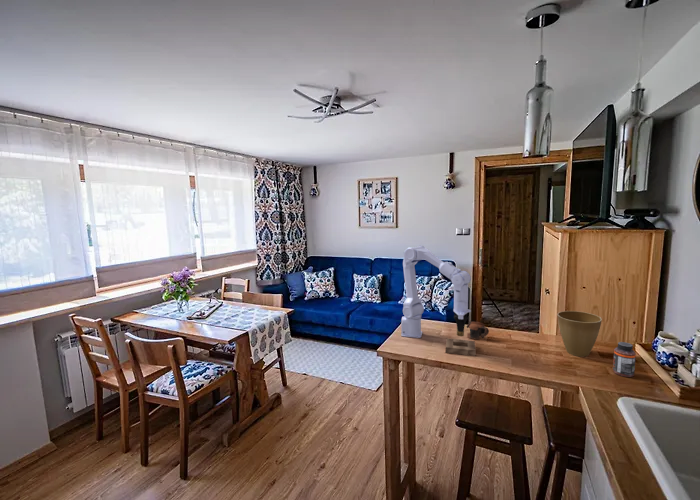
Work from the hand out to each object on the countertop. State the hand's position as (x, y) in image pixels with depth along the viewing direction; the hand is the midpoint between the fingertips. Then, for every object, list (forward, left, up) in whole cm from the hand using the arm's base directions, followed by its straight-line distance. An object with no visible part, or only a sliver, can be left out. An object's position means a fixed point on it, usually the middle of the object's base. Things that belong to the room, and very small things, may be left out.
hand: (460, 330), depth 139 cm
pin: (0, 0, -2) cm, 2 cm away
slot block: (0, 0, -9) cm, 9 cm away
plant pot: (+46, +9, -9) cm, 48 cm away
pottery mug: (+8, +17, -9) cm, 21 cm away
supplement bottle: (+56, -6, -9) cm, 57 cm away
